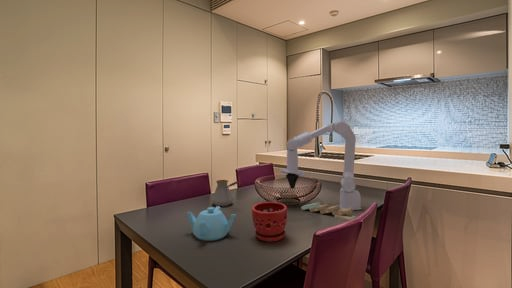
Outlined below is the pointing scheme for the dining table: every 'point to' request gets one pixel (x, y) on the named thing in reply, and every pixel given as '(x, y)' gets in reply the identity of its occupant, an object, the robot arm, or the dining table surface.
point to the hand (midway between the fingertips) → (292, 188)
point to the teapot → (210, 224)
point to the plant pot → (269, 221)
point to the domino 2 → (330, 209)
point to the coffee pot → (223, 193)
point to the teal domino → (310, 206)
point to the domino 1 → (319, 208)
